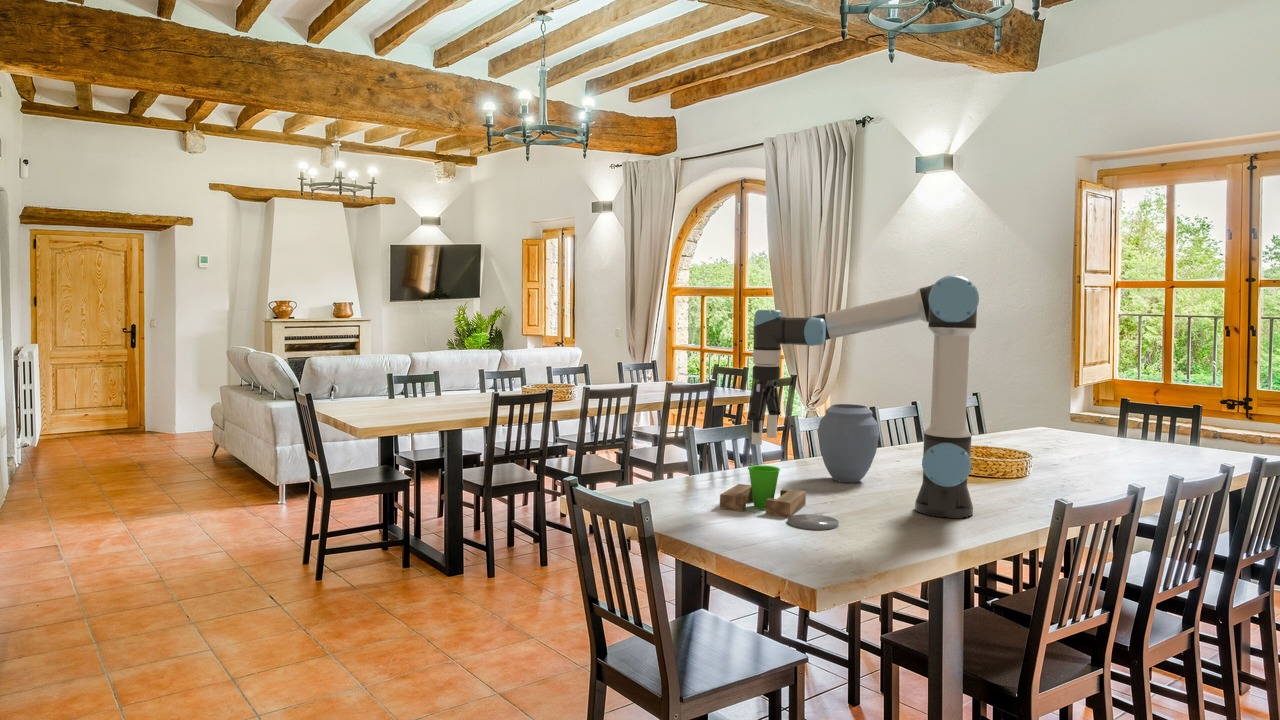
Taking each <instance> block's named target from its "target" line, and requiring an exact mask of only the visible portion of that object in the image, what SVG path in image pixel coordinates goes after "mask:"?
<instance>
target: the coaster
mask: <svg viewBox="0 0 1280 720" xmlns="http://www.w3.org/2000/svg"><path fill="white" fill-rule="evenodd" d="M787 523H788V524H789V525H790V526H792V527H794V528H798V529H803V530H811V531H826V530H827V531H829V530H833V529H837V528H838V527H839V524H840V523H839V520H838V519H837V518H834V517H831V516H827V515H822V514H814V513H813V514H812V513H808V514H807V513H806V514H805V513H804V514H803V513H801V514H794V515H793V516H790V517H787Z"/></svg>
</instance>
